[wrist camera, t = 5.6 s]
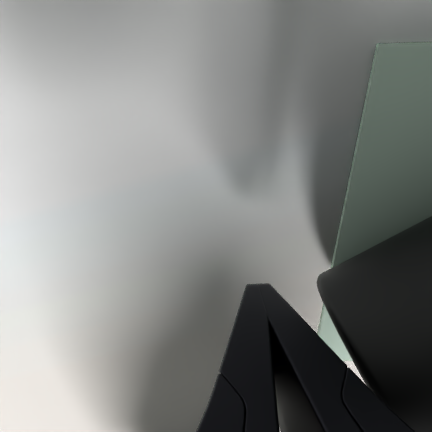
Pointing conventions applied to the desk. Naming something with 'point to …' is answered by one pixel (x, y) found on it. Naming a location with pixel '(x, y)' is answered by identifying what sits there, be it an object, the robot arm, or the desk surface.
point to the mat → (387, 160)
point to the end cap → (389, 319)
